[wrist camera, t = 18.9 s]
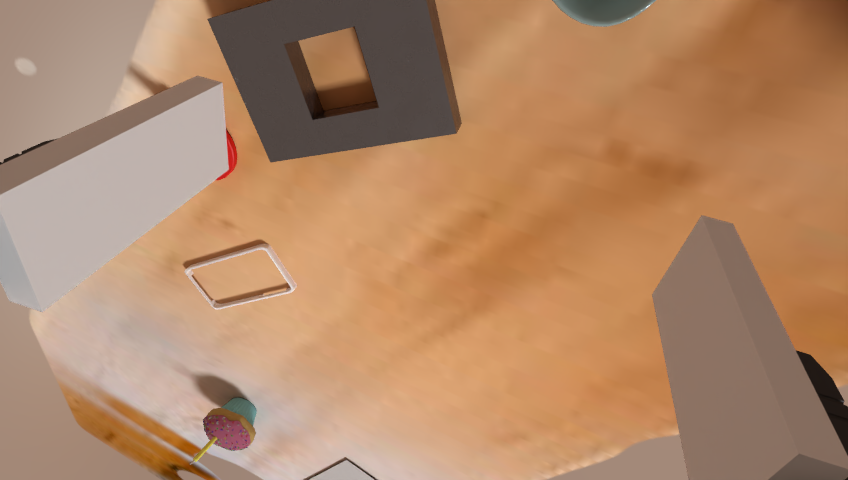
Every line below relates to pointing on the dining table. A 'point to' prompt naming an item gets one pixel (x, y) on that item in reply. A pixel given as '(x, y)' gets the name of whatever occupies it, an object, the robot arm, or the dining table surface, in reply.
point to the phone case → (237, 253)
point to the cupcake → (230, 426)
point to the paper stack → (343, 473)
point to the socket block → (385, 59)
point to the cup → (602, 10)
